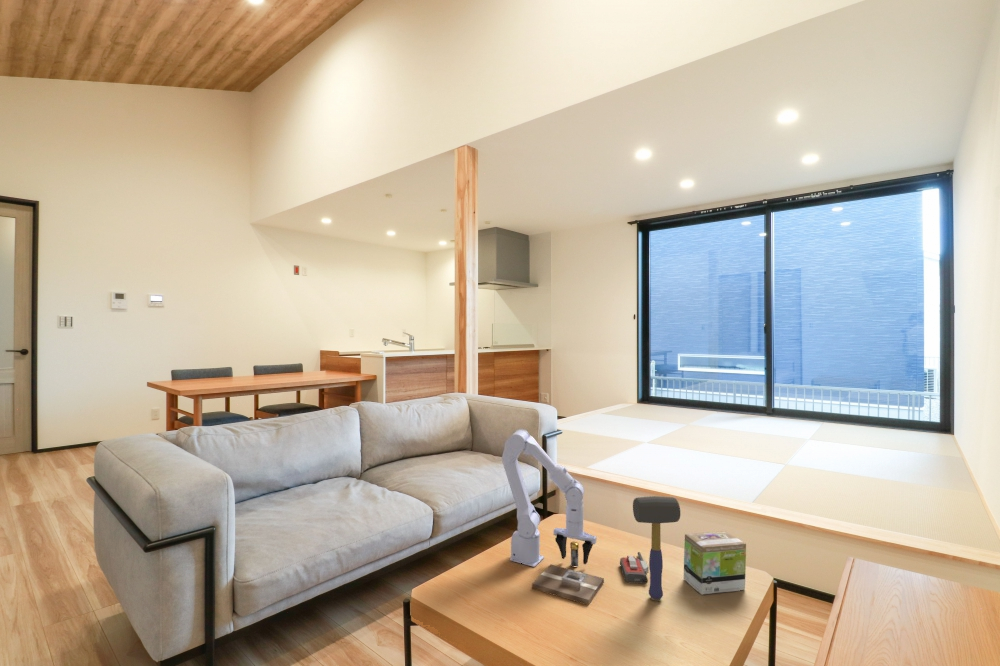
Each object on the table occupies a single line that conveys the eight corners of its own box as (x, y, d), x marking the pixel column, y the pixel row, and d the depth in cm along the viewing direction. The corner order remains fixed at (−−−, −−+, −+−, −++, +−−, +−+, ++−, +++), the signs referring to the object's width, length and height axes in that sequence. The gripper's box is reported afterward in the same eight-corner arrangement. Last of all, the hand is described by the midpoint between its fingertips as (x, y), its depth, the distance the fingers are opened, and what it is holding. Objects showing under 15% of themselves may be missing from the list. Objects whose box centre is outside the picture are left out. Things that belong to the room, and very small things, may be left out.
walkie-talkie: (654, 586, 151) (641, 556, 170) (654, 572, 150) (641, 544, 170) (625, 585, 151) (616, 555, 171) (625, 571, 151) (616, 543, 171)
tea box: (702, 596, 144) (702, 547, 144) (682, 579, 154) (683, 533, 154) (746, 591, 148) (746, 542, 147) (724, 574, 157) (725, 529, 157)
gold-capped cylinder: (569, 566, 163) (569, 544, 163) (572, 562, 165) (572, 540, 165) (577, 568, 161) (577, 545, 161) (579, 564, 164) (580, 542, 164)
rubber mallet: (672, 591, 147) (672, 492, 147) (681, 605, 140) (682, 501, 139) (631, 592, 147) (631, 492, 147) (638, 606, 139) (639, 501, 139)
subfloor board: (532, 588, 149) (532, 583, 149) (550, 568, 161) (550, 564, 161) (588, 605, 140) (588, 599, 140) (603, 583, 152) (603, 577, 152)
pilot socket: (561, 584, 148) (561, 577, 148) (569, 575, 153) (569, 569, 153) (580, 589, 145) (580, 583, 145) (587, 580, 150) (587, 574, 150)
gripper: (599, 520, 163) (599, 560, 163) (559, 511, 170) (559, 550, 170) (592, 527, 157) (592, 569, 157) (551, 518, 164) (550, 558, 164)
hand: (574, 560), depth 163 cm, fingers open, 7 cm apart
